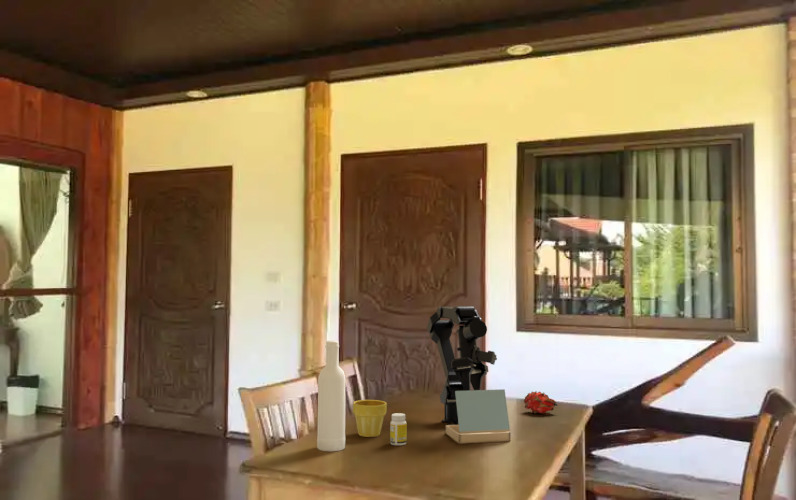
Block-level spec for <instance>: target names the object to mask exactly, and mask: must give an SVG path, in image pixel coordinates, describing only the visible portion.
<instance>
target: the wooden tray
mask: <svg viewBox="0 0 796 500" xmlns="http://www.w3.org/2000/svg"><path fill="white" fill-rule="evenodd" d="M445 434H446V435H447V436H448V437H449V438H451V440H454V442H456V443H458V444H460V445H461V444H480V443H498V442H511V431H503V432H483V433H462V434H460V433H459V424H448V425H447V424H446V425H445Z"/></svg>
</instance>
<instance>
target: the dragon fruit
mask: <svg viewBox="0 0 796 500" xmlns="http://www.w3.org/2000/svg"><path fill="white" fill-rule="evenodd" d="M522 400H523V401H522V402H523V403H524V408H525V409H526V410H529V409H530V410H531V413H532V414H537V413H539V414H543V415H545V416H546V415H550V414H551V413H550V411H551V412H552V411H554V409H555V406H558V404H557V402H556V400H554V399H552V398H550V397H549V395H548V394H545V392H541V391H537V390H536V391H531V392H528V393H527V395H525V396H524V399H522Z"/></svg>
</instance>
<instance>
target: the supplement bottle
mask: <svg viewBox="0 0 796 500" xmlns="http://www.w3.org/2000/svg"><path fill="white" fill-rule="evenodd" d="M389 423H390V424H389V426H390V427H389V432H390V433H389V434H390V436H389V437H390V439H389V440H390V441H389V442H390V444H391V445H392V446H404V445H406V444H407V442H408V441H407V439H408V438H407V437H408V436H407V435H408V434H407V433H408V432H407V429H408V428H407V426H408V425H407V421H406V414H405V413H401V412H398V413H397V412H396V413H392V414H391V420H390V422H389Z"/></svg>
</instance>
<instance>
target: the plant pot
mask: <svg viewBox="0 0 796 500" xmlns="http://www.w3.org/2000/svg"><path fill="white" fill-rule="evenodd" d="M387 405H388V403H387V402H386V401H384V400H379V399H378V400H377V399H359V400H356V401H355V400H354V401H353V404H352V414H353V415H354V417H355V423H356V429H357V433H358V436H360V437H365V438H366V437H367V438H375V437H379V436H380V435H381V431H382V427H383V422H384V418H385V416H386V414H387V408H388V407H387Z"/></svg>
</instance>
